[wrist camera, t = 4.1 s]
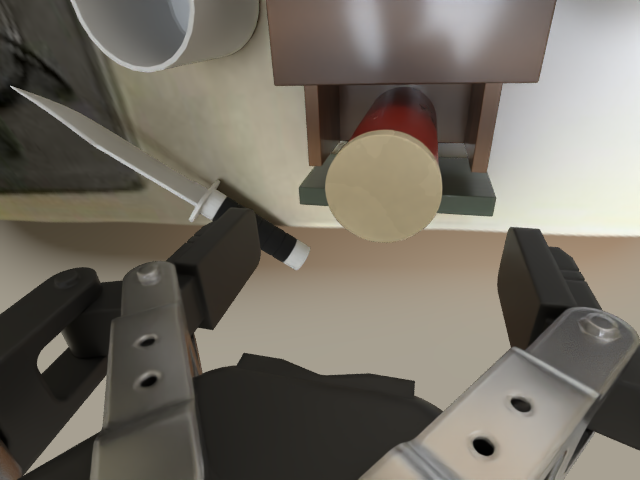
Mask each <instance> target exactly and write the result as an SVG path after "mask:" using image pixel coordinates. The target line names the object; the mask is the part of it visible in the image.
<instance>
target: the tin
mask: <svg viewBox="0 0 640 480" xmlns="http://www.w3.org/2000/svg"><path fill="white" fill-rule="evenodd" d="M325 192H326V198H327V202H328V205H329V208H330V210H331V212H332V213H333V215H334V217H335V218H336V219H337V221H338V222H339V223H340V224H341V225H342V226H343V227H344V228H345V229H347V230H348V231H349V232H351V233H352V234H354V235H356V236H358V237H360V238H363V239H365V240H369V241H373V242H382V243H383V242H384V243H388V242H396V241H401V240H404V239H407V238H409V237H411V236H414V235H415V234H417V233H419V232H420V231H421V230H423V229H424V228H425V227H426V226H427V225H428V224H429V223H430V222H431V221H432V219H433V218H434V216H435V215H436V213H437V211H438V209H439V206H440V203H441V198H442V177H441V172H440V168H439V161H438V139H437V118H436V112H435V108H434V106H433V104H432V102H431V101H430V99H429V98H428V97H427V96H426V95H425V94H423V93H422V92H421V91H419V90H417V89H414V88H410V87H397V88H393V89H390V90H388V91H386V92H384V93H383V94H381V95H380V96H379V97H378V98H377V99H376V100H375V101H374V103H373V104H372V106H371V107H370V109H369V110H368V112H367V113H366V115H365V116H364V118H363V119H362V121H361V123H360V124H359V126H358V127H357V129H356V130H355V132H354V133H353V135H352V136H351V138H350V140H349V141H348V143H347V144H346V145H344V146H343V147H342V149H341V150H340V151H339V152H338V154H337V155H336V157H335V158H334V160H333V161H332V163H331V165H330V167H329V169H328V172H327V176H326V182H325Z"/></svg>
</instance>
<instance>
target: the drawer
mask: <svg viewBox="0 0 640 480" xmlns="http://www.w3.org/2000/svg"><path fill="white" fill-rule="evenodd" d="M502 84H503V83H478V84H394V85H310V86H304V92H305V108H306V124H307V140H308V156H309V166H315V167H314V168H313V169H312V171H311V172H310V173H309V175H308V176H307V177H306V179H305V180H304V181H303V183H302V184H301V185H300V186H299V196H300V204H304V205H320V206H329V205H328V202H327V198H326V192H325V182H326V176H327V172H328V169H329V167H330V165H331V163H332V161H333V160H334V158H335V157H336V155H337V154H331V152H332V151H333V149H334V148H335V147H336V145H337V144H338V143H339V141H349V140H350V138H351V136H352V135H353V133H354V132H355V130H356V129H357V127H358V126H359V124H360V123H361V121H362V119H363V118H364V116H365V115H366V113H367V112H368V110H369V109H370V107H371V106H372V104H373V103H374V101H375V100H376V99H377V98H378V97H379V96H380V95H381V94H383V93H384V92H386V91H388V90H390V89H393V88H397V87H410V88H414V89H417V90H419V91H421V92H422V93H423V94H425V95H426V96H427V97H428V98H429V99H430V101H431V102H432V104H433V106H434V108H435V112H436V118H437V139H438V143H464V145H465V149H466V153H467V157H468V158H445V157H438V161H439V168H440V172H441V177H442V198H441V203H440V206H439V209H438V211H437V213H445V214H461V215H476V216H493V212H494V207H495V202H496V196H495V193H494V190H493V188H492V185H491V182H490V179H489V176H488V173H487V168H488V162H489V156H490V151H491V145H492V140H493V134H494V129H495V123H496V117H497V112H498V106H499V101H500V95H501V90H502Z"/></svg>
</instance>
